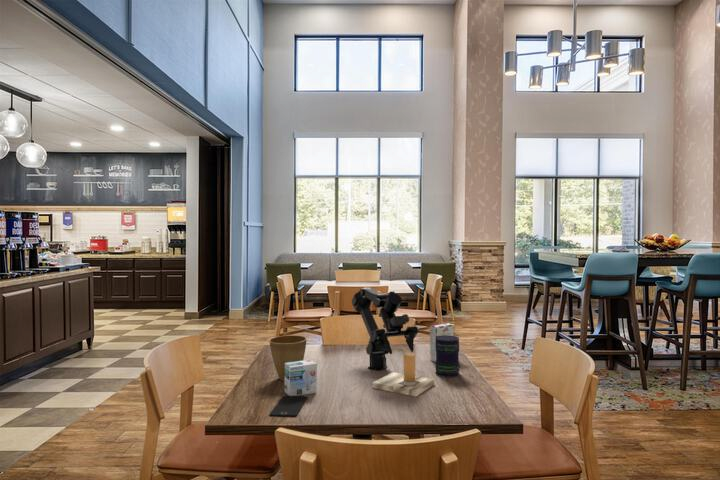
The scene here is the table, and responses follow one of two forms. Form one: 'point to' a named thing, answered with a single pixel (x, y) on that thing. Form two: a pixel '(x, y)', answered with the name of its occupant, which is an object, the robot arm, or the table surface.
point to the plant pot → (287, 351)
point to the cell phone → (288, 406)
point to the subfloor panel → (396, 384)
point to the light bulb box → (300, 377)
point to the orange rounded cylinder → (409, 370)
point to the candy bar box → (439, 331)
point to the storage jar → (447, 356)
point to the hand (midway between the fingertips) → (402, 352)
